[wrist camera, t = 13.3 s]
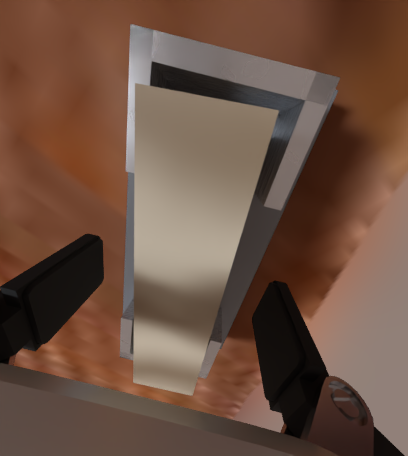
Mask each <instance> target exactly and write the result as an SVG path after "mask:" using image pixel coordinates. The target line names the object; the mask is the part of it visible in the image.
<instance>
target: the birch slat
mask: <svg viewBox="0 0 408 456" xmlns="http://www.w3.org/2000/svg"><path fill="white" fill-rule="evenodd" d="M278 113H279V110H274V109H269V108H263V107H258V106H253V105H248V104H242V103H237V102H232V101H227V100H221V99H216V98H211V97H206V96H201V95H195V94H190V93H185V92H180V91H174V90H169V89H164V88H159V87H153V86H148V85H143V84H138V83H135V173H134V371H133V383H138V384H142V385H147V386H151V387H155V388H160V389H164V390H169V391H173V392H178V393H182V394H187V395H191V396H192V395H193V392H194V389H195V385H196V382H197V379H198V376H199V372H200V369H201V366H202V362H203V359H204V356H205V353H206V349H207V346H208V343H209V339H210V336H211V333H212V330H213V326H214V323H215V320H216V316H217V313H218V310H219V307H220V303H221V300H222V297H223V293H224V290H225V287H226V284H227V280H228V277H229V274H230V270H231V267H232V264H233V260H234V257H235V254H236V251H237V247H238V244H239V241H240V237H241V234H242V231H243V228H244V224H245V221H246V218H247V214H248V211H249V208H250V205H251V201H252V198H253V195H254V191H255V188H256V185H257V182H258V178H259V175H260V172H261V168H262V165H263V162H264V159H265V155H266V152H267V149H268V145H269V142H270V139H271V136H272V132H273V129H274V126H275V122H276V119H277V116H278Z"/></svg>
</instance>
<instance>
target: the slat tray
mask: <svg viewBox="0 0 408 456" xmlns="http://www.w3.org/2000/svg"><path fill="white" fill-rule="evenodd" d="M174 91H180V92H185V91H181V90H177V89H174ZM337 92H338V90H335V91H334V93H333V95H332V97H331V100H330V102H329V104H328V106H327V109H326V111H325V113H324V115H323V118H322V120H321V122H320V124H319V126H318V129H317V131H316V133H315V135H314V138H313V140H312V142H311V144H310V147H309V149H308V151H307V153H306V156H305V158H304V160H303V162H302V165H301V167H300V169H299V171H298V174H297V176H296V178H295V180H294V182H293V185H292V187H291V189H290V191H289V194H288V196H287V198H286V200H285V203H284V205H283V207H282V209H281V210H277V209H273V208H269V207H265V206H263V204H262V203H261V202H260V200H259V199H258V197H257V196H256V195H255V193H254V195H253V198H252V201H251V205H250V208H249V211H248V214H247V218H246V221H245V224H244V228H243V231H242V234H241V237H240V241H239V244H238V247H237V251H236V254H235V257H234V260H233V264H232V267H231V270H230V274H229V277H228V280H227V284H226V287H225V290H224V293H223V297H222V300H221V303H220V307H222V344H221V346H220V348H219V349H221V348H222V346H223V343H224V341H225V339H226V337H227V335H228V332H229V330H230V328H231V326H232V324H233V321H234V319H235V317H236V315H237V313H238V310H239V308H240V306H241V304H242V302H243V299H244V297H245V295H246V293H247V291H248V288H249V286H250V284H251V282H252V280H253V277H254V275H255V273H256V271H257V268H258V266H259V264H260V262H261V260H262V257H263V255H264V253H265V251H266V249H267V246H268V244H269V242H270V240H271V238H272V235H273V233H274V231H275V229H276V227H277V224H278V222H279V220H280V218H281V216H282V213H283V211H284V209H285V207H286V205H287V202H288V200H289V198H290V196H291V194H292V191H293V189H294V187H295V185H296V183H297V180H298V178H299V176H300V174H301V172H302V169H303V167H304V165H305V163H306V161H307V158H308V156H309V154H310V152H311V149H312V147H313V145H314V143H315V141H316V138H317V136H318V134H319V132H320V130H321V127H322V125H323V123H324V121H325V119H326V116H327V114H328V112H329V110H330V108H331V105H332V103H333V101H334V99H335V97H336V94H337ZM185 93H189V92H185ZM190 94H193V93H190ZM195 95H197V94H195ZM279 118H280V116H279V115H278V116H277V119H276V122H275V126H274V129H273V132H272V136H271V139H270V142H269V145H268V149H269V146H270V143H271V140H272V138H273V135H274V132H275V129H276V126H277V123H278V121H279ZM268 149H267V152H268ZM267 152H266V154H267ZM265 157H266V155H265ZM264 160H265V159H264ZM263 163H264V162H263ZM262 166H263V165H262ZM133 298H134V173H131V172H128V192H127V218H126V245H125V271H124V298H123V314H124V312H125V311H126V309H127V307H128V306H129V304H130V303H131V301H132V299H133Z"/></svg>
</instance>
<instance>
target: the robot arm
mask: <svg viewBox="0 0 408 456" xmlns="http://www.w3.org/2000/svg"><path fill="white" fill-rule="evenodd" d="M103 279H104V267H103V241H102V240H101V239H100V237H99V236H96V235H92V234H85V235H83V236H82V237H80V238H79V239H77V240H75V241H74V242H72V243H70V244H69V245H67V246H66V247H64V248H62V249H61V250H59V251H57V252H56V253H54V254H53V255H51V256H49V257H48V258H46V259H44V260H43V261H41V262H40V263H38V264H36V265H35V266H33V267H31V268H30V269H28V270H26V271H25V272H23V273H22V274H20V275H18V276H17V277H15V278H13V279H12V280H10V281H9V282H7V283H5V284H4V285H2V286H0V289H1V290H0V456H404V455H403V454H402V453H401V452H400V451H399V450H398V449H397V448H396V447H395V446H394V445H393V444H392V443H391V442H390V441H389V440H388V439H387V438H386V437H385V436H384V435H383V434H381V432H380V431H378V430H377V429H376V428H375V427H374V423H373V417H372V415H371V412H370V410H369V408H368V406H367V405H366V403H365V401H364V400H363V399H362V397H361V396H360V395H359V394H358V392H357V391H356V390H355V389H354V388H353V387H352V386H350V385H349V384H348V383H347V382H345V381H344V380H342V379H340V378H338V377H335V376H329V374H328V372H327V370H326V367H325V364H324V362H323V360H322V358H321V356H320V354H319V352H318V350H317V347H316V345H315V343H314V341H313V339H312V337H311V335H310V333H309V330H308V328H307V326H306V324H305V322H304V320H303V318H302V316H301V313H300V311H299V309H298V307H297V305H296V303H295V301H294V299H293V297H292V294H291V292H290V290H289V288H288V286H287V284H286V283H283V282H279V281H273V283H272V282H271V283H269V285H268V287H267V289H266V291H265V293H264V295H263V297H262V299H261V301H260V302H259V304H258V306H257V308H256V310H255V312H254V314H253V317H252V323H253V329H254V335H255V341H256V347H257V353H258V359H259V365H260V371H261V377H262V383H263V388H264V394H265V397H266V399H267V400H269V405H270V410H272V411H276V412H280V413H282V417H283V421H284V425H283V427H282V430H281V433H279V432H275V431H272V430H268V429H265V428H261V427H257V426H254V425H250V424H247V423H243V422H239V421H235V420H231V419H227V418H223V417H219V416H215V415H212V414H208V413H204V412H200V411H196V410H192V409H188V408H184V407H180V406H176V405H172V404H168V403H164V402H160V401H156V400H152V399H148V398H144V397H140V396H136V395H132V394H128V393H124V392H120V391H116V390H112V389H108V388H104V387H100V386H96V385H92V384H88V383H84V382H80V381H75V380H71V379H67V378H63V377H59V376H55V375H51V374H47V373H43V372H38V371H34V370H30V369H26V368H21V367H17V366H14V362H15V357H16V353H17V352H18V351H19V350H20V349H22V348H24V349H28V350H32V351H36V350H37V349H38V348H39V347H40V346H41V345H42V344H45V343H47V342H48V341H49V340H50V339H51V338H52V337H53V336H54V335H55V334H56V333H57V332H58V331H59V329H60V328H61V327H62V326H63V325H64V324H65V323H66V322H67V321H68V320H69V318H70V317H71V316H72V315H73V314H74V313H75V312H76V311H77V310H78V309H79V308H80V306H81V305H82V304H83V303H84V302H85V301H86V300H87V299H88V298H89V297H90V295H91V294H92V293H93V292H94V291H95V290H96V289H97V288H98V287H99V286H100V284H101V283H102V282H103Z"/></svg>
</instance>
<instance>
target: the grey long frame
mask: <svg viewBox="0 0 408 456" xmlns="http://www.w3.org/2000/svg"><path fill="white" fill-rule="evenodd" d="M339 79H340V78H339V77H335V76H331V75H328V74H324V73H320V72H316V71H312V70H308V69H304V68H300V67H296V66H292V65H288V64H285V63H281V62H277V61H273V60H269V59H265V58H261V57H257V56H253V55H249V54H245V53H241V52H238V51H234V50H230V49H226V48H222V47H218V46H214V45H210V44H206V43H202V42H198V41H195V40H191V39H187V38H183V37H179V36H175V35H171V34H167V33H163V32H159V31H155V30H151V29H148V28H144V27H140V26H136V25H132V24H130V55H129V86H128V118H127V149H126V171H127V172H131V173H135V83H138V84H143V85H148V86H153V87H159V88H164V89H169V90H174V89H177V90H181V91H185V92H189V93H193V94H197V95H201V96H206V97H211V98H216V99H221V100H227V101H232V102H237V103H242V104H248V105H253V106H258V107H263V108H269V109H274V110H279V113H278V115H279V116H280V118H279V121H278V123H277V126H276V129H275V132H274V135H273V138H272V140H271V143H270V146H269V149H268V152H267V154H266V157H265V160H264V163H263V166H262V168H261V172H260V175H259V178H258V182H257V185H256V188H255V191H254V193H255V195H256V196H257V197H258V199H259V200H260V202H261V203H262V204H263V206H265V207H269V208H273V209H277V210H281V209H282V207H283V205H284V203H285V200H286V198H287V196H288V194H289V191H290V189H291V187H292V185H293V182H294V180H295V178H296V176H297V174H298V171H299V169H300V167H301V165H302V162H303V160H304V158H305V156H306V153H307V151H308V149H309V147H310V144H311V142H312V140H313V138H314V135H315V133H316V131H317V129H318V126H319V124H320V122H321V120H322V118H323V115H324V113H325V111H326V109H327V106H328V104H329V102H330V100H331V97H332V95H333V93H334V91H335V88H336V86H337V84H338V82H339ZM221 344H222V307H219V310H218V313H217V316H216V320H215V323H214V326H213V330H212V333H211V336H210V339H209V343H208V346H207V349H206V353H205V356H204V359H203V362H202V366H201V369H200V372H199V376H198V377H202V378H206V377H207V375H208V373H209V371H210V368H211V366H212V364H213V362H214V359H215V357H216V355H217V353H218V351H219V348H220V346H221ZM120 357H122V358H126V359H130V360H134V298H133V299H132V301H131V303H130V304H129V306H128V307H127V309H126V311H125V312H124V314H123V316H122V317H121V337H120Z"/></svg>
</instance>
